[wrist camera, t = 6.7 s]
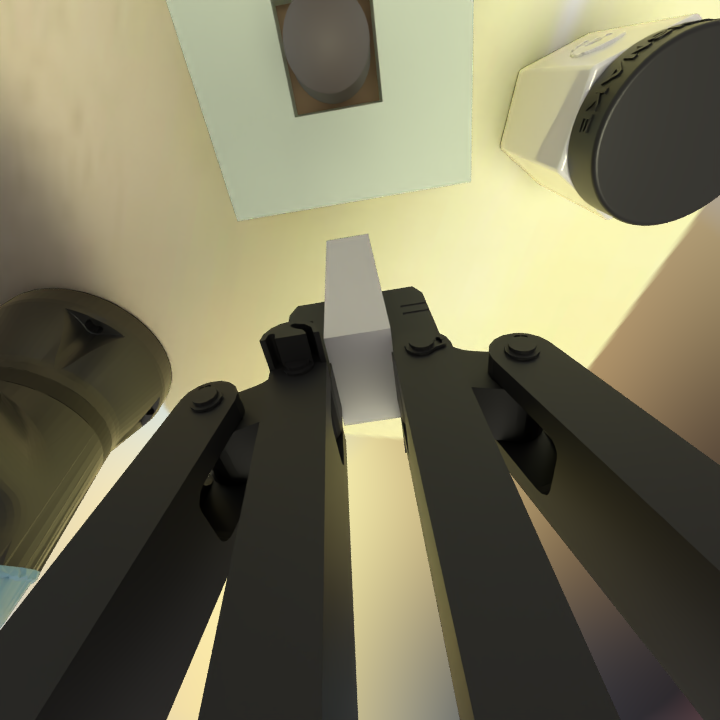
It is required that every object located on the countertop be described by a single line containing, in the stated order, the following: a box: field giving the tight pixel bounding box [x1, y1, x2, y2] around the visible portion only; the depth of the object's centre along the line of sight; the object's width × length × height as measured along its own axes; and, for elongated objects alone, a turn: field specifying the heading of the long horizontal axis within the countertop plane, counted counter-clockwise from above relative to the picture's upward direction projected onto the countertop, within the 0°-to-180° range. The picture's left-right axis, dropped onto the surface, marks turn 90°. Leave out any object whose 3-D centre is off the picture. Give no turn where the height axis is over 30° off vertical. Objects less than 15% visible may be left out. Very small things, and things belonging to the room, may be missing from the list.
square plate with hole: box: [166, 0, 474, 221], centre depth 22 cm, size 15×15×2 cm
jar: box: [500, 13, 720, 226], centre depth 23 cm, size 9×8×12 cm
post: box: [275, 0, 380, 115], centre depth 19 cm, size 16×16×14 cm
